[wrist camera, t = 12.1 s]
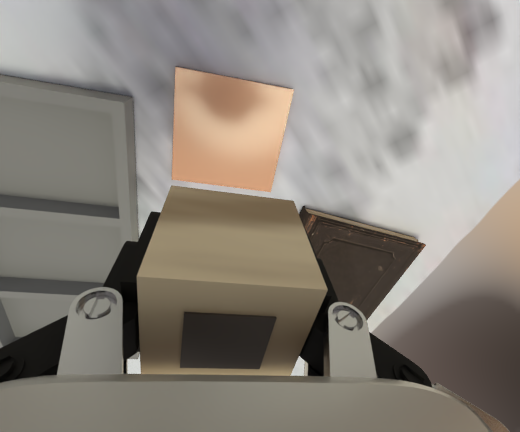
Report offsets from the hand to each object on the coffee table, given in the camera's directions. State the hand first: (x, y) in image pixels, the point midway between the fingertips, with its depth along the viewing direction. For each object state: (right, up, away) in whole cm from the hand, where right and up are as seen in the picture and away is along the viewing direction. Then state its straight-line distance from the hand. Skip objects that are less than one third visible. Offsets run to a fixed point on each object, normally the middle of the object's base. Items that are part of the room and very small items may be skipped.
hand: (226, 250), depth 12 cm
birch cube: (0, 0, +1) cm, 1 cm away
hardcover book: (+10, -8, +28) cm, 30 cm away
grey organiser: (-21, -2, +19) cm, 28 cm away
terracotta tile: (-1, +9, +15) cm, 17 cm away
